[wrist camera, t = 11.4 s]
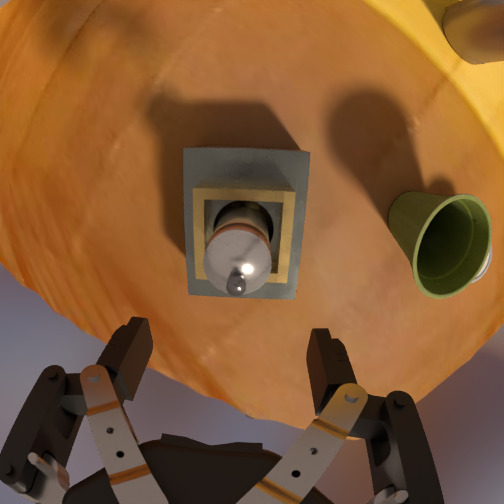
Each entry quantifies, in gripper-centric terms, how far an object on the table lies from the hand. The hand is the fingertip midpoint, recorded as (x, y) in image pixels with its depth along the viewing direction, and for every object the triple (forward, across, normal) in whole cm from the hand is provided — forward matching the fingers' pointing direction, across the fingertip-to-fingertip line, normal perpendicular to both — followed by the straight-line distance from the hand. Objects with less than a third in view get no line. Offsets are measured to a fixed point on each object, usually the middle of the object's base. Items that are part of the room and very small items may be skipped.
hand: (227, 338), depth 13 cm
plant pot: (+23, -22, -1) cm, 32 cm away
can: (+16, 0, 0) cm, 16 cm away
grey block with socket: (+22, 0, 0) cm, 22 cm away
